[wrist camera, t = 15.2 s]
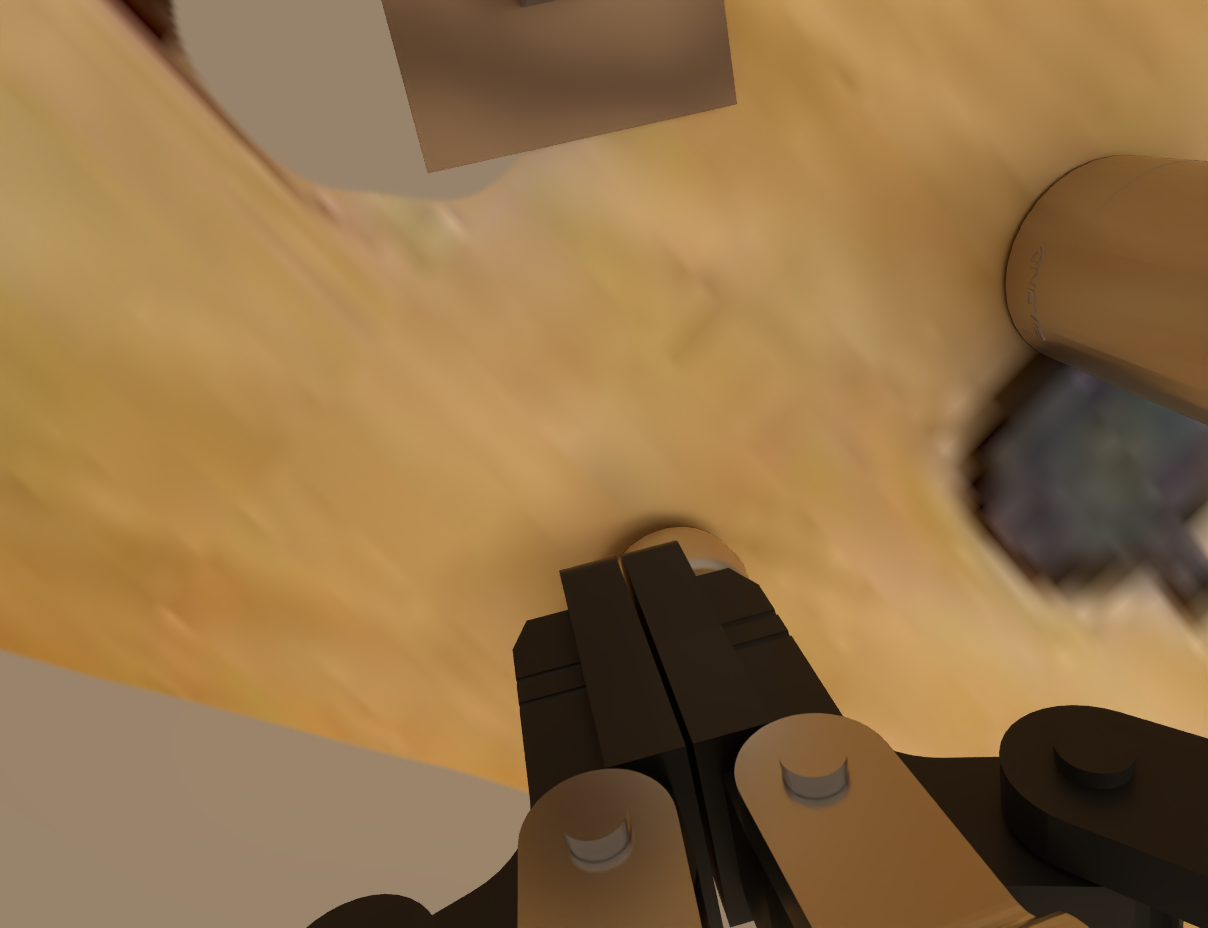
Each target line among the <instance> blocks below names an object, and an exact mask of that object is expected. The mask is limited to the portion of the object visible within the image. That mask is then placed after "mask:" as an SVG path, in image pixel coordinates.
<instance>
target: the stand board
mask: <svg viewBox="0 0 1208 928" xmlns="http://www.w3.org/2000/svg"><path fill="white" fill-rule="evenodd" d="M382 3H383V8H384V11H385V15H386V19H387V23H388V26H389V30H390V33H391V38H392V41H393V44H394V49H395V52H396V56H397V60H398V64H399V67H400V71H401V74H402V79H403V82H404V86H405V89H406V93H407V97H408V101H409V105H410V108H411V112H412V116H413V120H414V123H415V127H416V131H417V135H418V138H419V142H420V146H421V149H422V153H423V157H424V161H425V164H426V168H427V172H428V173H431V172H435V171H440V170H444V169H449V168H453V167H458V166H463V165H467V164H471V163H476V162H480V161H485V160H489V159H494V158H498V157H502V156H507V155H512V154H516V153H521V152H525V151H530V150H534V149H539V148H543V147H547V146H552V145H556V144H561V143H565V142H570V141H574V140H579V139H583V138H588V137H592V136H597V135H601V134H606V133H610V132H614V131H619V130H623V129H628V128H632V127H637V126H641V125H646V124H650V123H655V122H659V121H664V120H668V119H673V118H677V117H682V116H686V115H690V114H695V113H699V112H704V111H708V110H713V109H717V108H722V107H726V106H731V105H735V104H737V101H736V93H735V85H734V77H733V70H732V62H731V54H730V46H729V38H728V30H727V23H726V15H725V7H724V0H556V1H551V2H547V3H542V4H537V5H533V6H528V7H523V8H522V7H521V2H520V0H382Z"/></svg>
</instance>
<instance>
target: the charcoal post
mask: <svg viewBox="0 0 1208 928" xmlns="http://www.w3.org/2000/svg"><path fill="white" fill-rule="evenodd" d="M551 1H556V0H520V2H521V7H522V8H523V7H528V6H533V5H537V4H542V3H547V2H551Z"/></svg>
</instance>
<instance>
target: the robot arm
mask: <svg viewBox="0 0 1208 928" xmlns="http://www.w3.org/2000/svg"><path fill="white" fill-rule="evenodd" d="M1005 287H1006V296H1007V304H1008V309H1009V312H1010V314H1011V317H1012V320H1013V323H1014V325H1015V327H1016V328H1017V330H1018V331H1019V333H1020V334H1021V336H1022V337H1023V339H1024V340H1025V341H1026V342H1027V343H1028V344H1030V345H1031V346H1032V347H1033V348H1034V349H1035V350H1036V351H1038V352H1040V353H1042V354H1044V355H1046V356H1048V357H1050V358H1052V359H1055V360H1057V361H1059V362H1062V363H1064V364H1066V365H1069V366H1071V367H1073V368H1076V369H1078V370H1080V371H1082V372H1085V373H1087V374H1089V375H1092V376H1094V377H1096V378H1099V379H1100V380H1102V381H1105V382H1107V383H1109V384H1112V385H1114V386H1116V387H1119V388H1121V389H1124V390H1126V391H1128V392H1131V393H1133V394H1135V395H1138V396H1140V397H1142V398H1145V399H1147V400H1149V401H1152V402H1154V403H1156V404H1159V405H1161V406H1163V407H1166V408H1168V409H1170V410H1173V411H1175V412H1178V413H1180V414H1182V415H1185V416H1187V417H1189V418H1192V419H1194V420H1196V421H1199V422H1201V423H1203V424H1206V425H1208V162H1207V161H1197V160H1184V159H1171V158H1158V157H1145V156H1118V155H1116V156H1111V157H1107V158H1102V159H1098V160H1094V161H1092V162H1090V163H1088V164H1085V165H1083V166H1081V167H1079V168H1077V169H1075V170H1073V171H1072V172H1070V173H1069V174H1067V175H1066V176H1065V177H1063V178H1062V179H1060V180H1059V181H1058V182H1056V183H1055V184H1054V185H1053V186H1052V187H1051V188H1050V189H1049V190H1048V191H1047V192H1046V193H1045V194H1044V195H1043V196H1042V197H1041V198H1040V199H1039V200H1038V201H1037V203H1036V204H1035V205H1034V207H1033V208H1032V210H1031V211H1030V213H1029V214H1028V216H1027V217H1026V218H1025V220H1024V221H1023V224H1022V226H1021V228H1020V230H1019V232H1018V234H1017V236H1016V238H1015V240H1014V243H1013V246H1012V250H1011V253H1010V257H1009V261H1008V264H1007V274H1006V286H1005ZM620 560H621V566H622V571H623V574H622V571H621V568H620V566H619V563H618V560H617V558H616V556H614V557H610V558H606V559H602V560H598V561H594V562H590V563H587V564H583V565H579V566H575V567H571V568H567V569H563V570H559V572H560V576H561V580H562V585H563V589H564V593H565V597H566V602H567V606H568V610H566V611H562V612H558V613H554V614H551V615H547V616H543V617H539V618H535V619H532V620H528V621H526V623H525V625H524V627H523V629H522V632H521V634H520V636H519V638H518V640H517V642H516V644H515V646H514V648H513V657H514V666H515V675H516V681H517V692H518V700H519V706H520V718H521V726H522V735H523V743H524V752H525V761H526V769H527V778H528V786H529V795H530V805H531V806H530V807H531V808H530V811H529V813H528V814H527V816H526V818H525V820H524V822H523V824H522V827H521V830H520V833H519V840H518V849H517V851H516V852H515V853H514V855H513V856H512V858H511V859H510V860H509V861H508V862H507V863H506V864H505V866H504V867H503V868H502V869H501V870H500V871H499V872H498V873H497V874H495V875H494V876H493V877H492V878H491V879H490V880H488V881H487V882H486V883H484V884H483V885H481V886H480V887H478V888H477V889H475V890H474V891H472V892H471V893H469V894H467V895H466V896H464V897H462V898H460V899H459V900H457V901H455V902H454V903H452V904H450V905H449V906H447V907H445V908H444V909H442V910H440V911H438V912H437V913H435V914H434V915H431V914H430V912H429V911H428V910H427V909H426V908H425V907H424V906H423V905H421V904H420V903H418V902H416V901H414V900H413V899H411V898H407V897H403V896H400V895H392V894H380V895H371V896H367V897H362V898H358V899H355V900H353V901H350V902H348V903H345V904H343V905H340V906H339V907H336V908H335V909H333V910H331V911H329V912H327V913H326V914H324V915H323V916H321V917H320V918H318V919H317V920H315V921H314V922H313V923H312V924H310V925H309V926H308V927H307V928H723V924H722V919H721V914H720V909H719V905H718V899H717V895H716V890H715V885H714V881H715V884H716V887H717V890H718V893H719V896H720V899H721V902H722V905H723V908H724V911H725V913H726V916H727V919H728V922H729V925H730V927H733V926H736V925H740V924H743V923H747V922H750V921H754V922H755V924H756V927H757V928H1183V922H1184V921H1185V922H1188V923H1190V924H1192V925H1195V926H1197V927H1199V928H1208V739H1207V738H1204V737H1201V736H1197V735H1194V734H1191V733H1187V732H1184V731H1181V730H1177V729H1174V728H1171V727H1167V726H1164V725H1161V724H1157V723H1154V722H1151V721H1147V720H1144V719H1141V718H1137V717H1134V716H1131V715H1127V714H1124V713H1121V712H1117V711H1113V710H1109V709H1105V708H1098V707H1092V706H1078V705H1068V706H1056V707H1050V708H1045V709H1041V710H1038V711H1035V712H1032V713H1030V714H1028V715H1026V716H1024V717H1022V718H1020V719H1019V720H1018V721H1016V722H1015V723H1014V724H1012V725H1011V726H1010V728H1009V729H1008V730H1007V731H1006V733H1005V734H1004V737H1003V739H1002V741H1001V745H1000V751H999V757H965V758H931V757H921V756H913V755H908V754H904V753H900V752H896V751H893V749H892V748H891V747H890V746H889V744H888V743H887V742H886V741H885V740H884V739H883V738H882V737H881V736H880V735H879V734H878V733H876V732H875V731H874V730H872V729H871V728H869V727H868V726H866V725H864V724H862V723H860V722H858V721H855V720H852V719H849V718H847V717H843V715H842V714H841V712H840V711H839V709H838V708H837V706H836V704H835V703H834V701H833V700H832V698H831V697H830V695H829V694H828V692H827V690H826V689H825V687H824V686H823V684H822V683H821V681H820V680H819V678H818V676H817V675H816V673H815V672H814V670H813V669H812V667H811V666H810V664H809V662H808V661H807V659H806V658H805V656H804V655H803V653H802V651H801V650H800V648H799V647H798V645H797V644H796V642H795V641H794V639H793V637H792V636H789V633H788V630H787V628H786V627H785V625H784V623H783V622H782V620H781V619H780V617H779V616H778V615H776V613H775V609H774V608H773V606H772V605H771V603H770V602H769V600H768V599H767V597H766V595H765V594H764V592H763V591H762V589H761V588H760V586H759V585H758V584H757V583H755V582H753V581H751V580H750V579H748V578H746V577H744V576H742V575H741V574H739V573H737V572H735V571H734V570H732V569H730V568H725V569H721V570H718V571H714V572H710V573H706V574H702V575H699V576H696V575H695V573H694V571H693V569H692V567H691V565H690V563H689V562H688V560H687V558H686V556H685V554H684V552H683V550H682V548H681V546H680V544H679V543H678V541H677V540H675V541H671V542H667V543H663V544H659V545H655V546H651V547H648V548H644V549H640V550H636V551H632V552H628V553H624V554H621V555H620ZM623 576H624V577H623ZM713 878H714V880H713Z"/></svg>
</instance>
